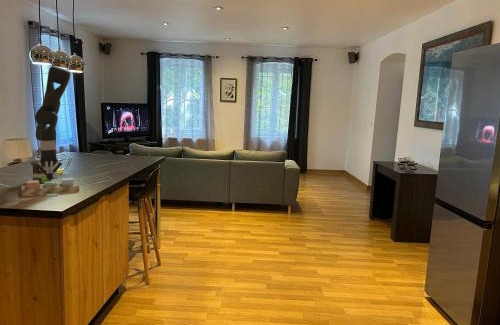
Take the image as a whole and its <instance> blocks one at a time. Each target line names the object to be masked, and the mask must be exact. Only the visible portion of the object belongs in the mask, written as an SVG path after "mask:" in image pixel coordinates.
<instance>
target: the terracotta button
mask: <svg viewBox="0 0 500 325" xmlns="http://www.w3.org/2000/svg"><path fill="white" fill-rule="evenodd" d="M26 186H27V189H32V188H39V180H35V181H32V180H27V181H26Z"/></svg>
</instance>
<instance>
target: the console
mask: <svg viewBox="0 0 500 325" xmlns="http://www.w3.org/2000/svg"><path fill="white" fill-rule="evenodd" d="M77 192H78V193H79V192H80V185H79V183H78V182H77V181H74V185H69V186H62V182H57V187H45V184H41V185H39V188H32V189H27V185H21V197H23V198H25V197H33V196H44V195H46V196H47V194H49V193H57V194H58V195H59V194H68V193H77Z"/></svg>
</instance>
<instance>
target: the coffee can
mask: <svg viewBox="0 0 500 325" xmlns="http://www.w3.org/2000/svg"><path fill="white" fill-rule="evenodd" d="M39 162H40V160H35V161H34V160H33V161H31V162H30V166H31V167H30V168H31V171H30V172H31V181H35V180H39V185H41V184H45V182H49V181H53V180H52V179H51V180H48V179H47V173H43V172H42V171H41V170H40V169H39V168H38V167H37V166H36V163H39ZM41 167H42V168H43V169H44V170H46V167H44V166H43V165H42V164H41ZM48 168H49V173H50V167H48Z"/></svg>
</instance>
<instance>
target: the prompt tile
mask: <svg viewBox="0 0 500 325" xmlns="http://www.w3.org/2000/svg"><path fill="white" fill-rule="evenodd" d="M46 197H47V198H52V197H59V193H58V194H57V193H49V194H47V195H46Z"/></svg>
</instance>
